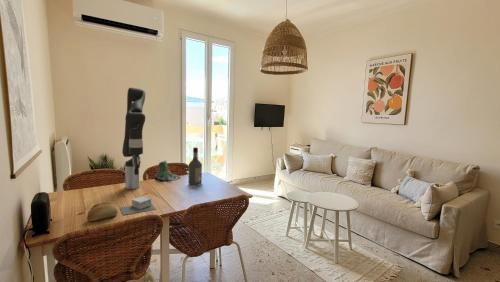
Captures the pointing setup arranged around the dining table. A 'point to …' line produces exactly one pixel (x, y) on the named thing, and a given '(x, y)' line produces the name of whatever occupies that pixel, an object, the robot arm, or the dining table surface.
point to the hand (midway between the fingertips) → (136, 174)
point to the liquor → (195, 169)
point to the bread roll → (101, 211)
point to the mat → (135, 209)
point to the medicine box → (141, 202)
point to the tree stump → (165, 173)
